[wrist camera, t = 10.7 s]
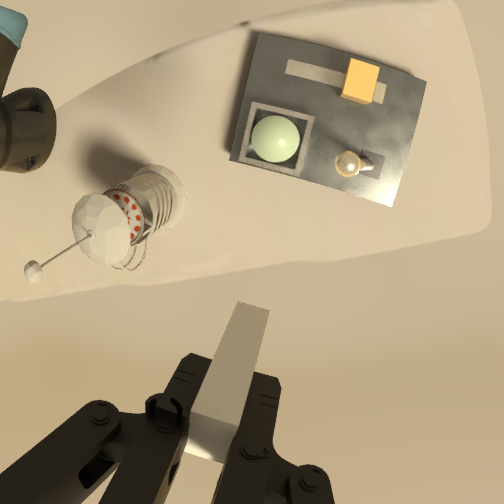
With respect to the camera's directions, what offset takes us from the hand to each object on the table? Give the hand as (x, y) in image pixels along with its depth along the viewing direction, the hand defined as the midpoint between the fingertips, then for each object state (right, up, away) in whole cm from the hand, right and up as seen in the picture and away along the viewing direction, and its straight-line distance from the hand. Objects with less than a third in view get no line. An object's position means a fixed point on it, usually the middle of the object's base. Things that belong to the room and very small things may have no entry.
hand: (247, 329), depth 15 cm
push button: (+3, +17, +20) cm, 26 cm away
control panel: (+9, +20, +21) cm, 30 cm away
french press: (-13, +10, +30) cm, 34 cm away
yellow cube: (+12, +22, +16) cm, 30 cm away
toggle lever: (+14, +13, +19) cm, 27 cm away
